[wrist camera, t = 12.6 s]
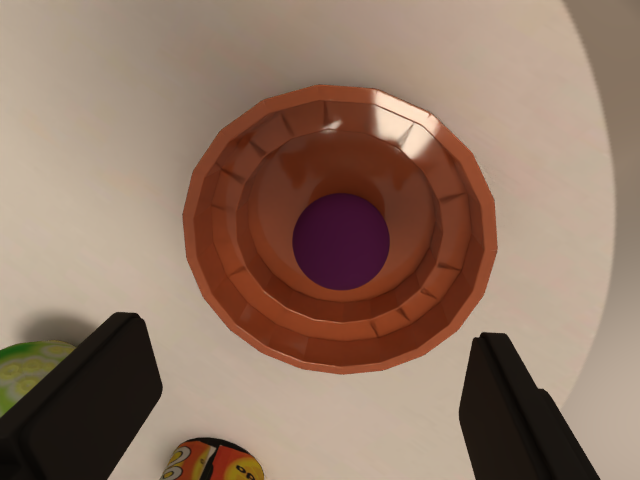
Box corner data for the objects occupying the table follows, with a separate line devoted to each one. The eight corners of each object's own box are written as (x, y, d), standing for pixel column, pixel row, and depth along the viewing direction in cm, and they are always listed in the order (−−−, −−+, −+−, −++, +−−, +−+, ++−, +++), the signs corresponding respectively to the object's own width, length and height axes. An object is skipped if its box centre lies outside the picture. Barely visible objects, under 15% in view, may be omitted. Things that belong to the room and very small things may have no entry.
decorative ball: (115, 421, 32) (16, 552, 23) (13, 367, 31) (-134, 484, 22) (153, 355, 28) (52, 482, 19) (38, 291, 27) (-128, 394, 18)
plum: (312, 170, 20) (307, 193, 15) (395, 200, 21) (417, 231, 16) (285, 249, 22) (274, 291, 17) (362, 274, 22) (373, 322, 18)
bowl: (214, 76, 19) (167, 73, 15) (498, 97, 18) (543, 101, 13) (225, 306, 25) (195, 354, 21) (438, 334, 24) (455, 391, 20)
